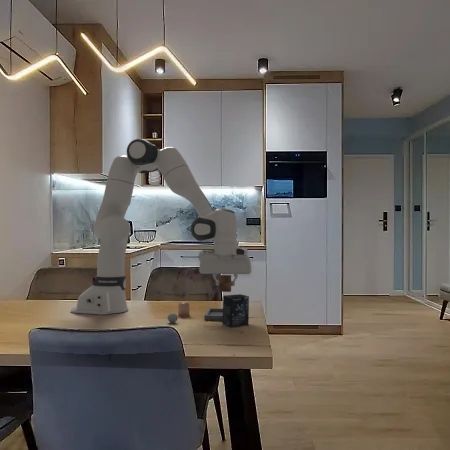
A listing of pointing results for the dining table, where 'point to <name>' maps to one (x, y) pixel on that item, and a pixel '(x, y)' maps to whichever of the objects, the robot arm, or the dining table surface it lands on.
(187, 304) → the wooden block
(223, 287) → the walnut cube
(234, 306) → the box
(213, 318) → the slate tray
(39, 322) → the dining table surface
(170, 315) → the grey ball
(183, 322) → the dining table surface
